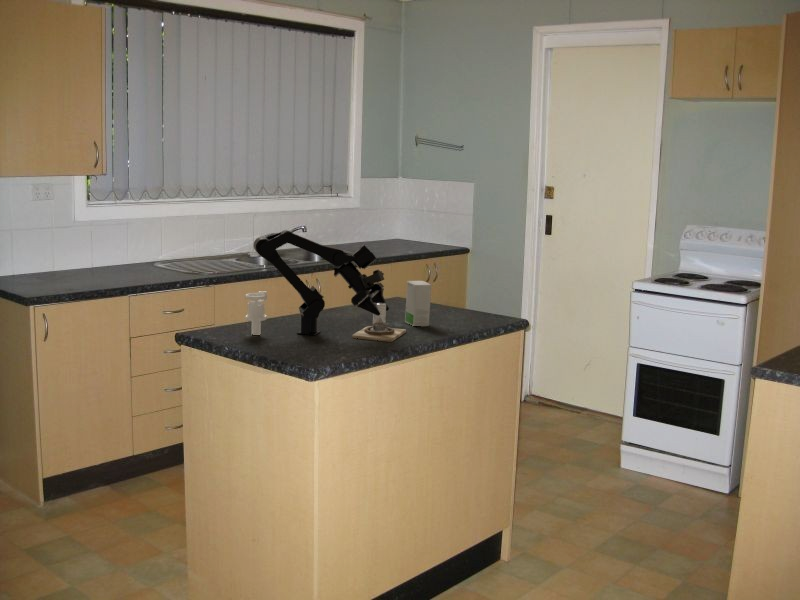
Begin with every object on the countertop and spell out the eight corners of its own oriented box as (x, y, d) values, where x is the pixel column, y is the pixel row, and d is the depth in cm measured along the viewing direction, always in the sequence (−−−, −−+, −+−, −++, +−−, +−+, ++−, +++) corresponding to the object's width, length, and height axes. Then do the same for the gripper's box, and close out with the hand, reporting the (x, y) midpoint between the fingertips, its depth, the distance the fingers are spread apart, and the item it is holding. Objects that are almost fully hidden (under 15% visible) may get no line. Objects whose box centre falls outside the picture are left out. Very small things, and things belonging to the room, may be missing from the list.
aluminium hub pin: (384, 334, 304) (385, 305, 303) (367, 333, 306) (368, 304, 304) (389, 331, 310) (390, 302, 308) (373, 329, 312) (374, 301, 310)
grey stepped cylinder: (266, 337, 300) (266, 293, 297) (245, 337, 299) (245, 293, 296) (266, 332, 307) (266, 289, 304) (245, 332, 306) (245, 289, 303)
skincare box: (404, 322, 330) (405, 280, 327) (420, 321, 332) (422, 280, 330) (413, 327, 322) (415, 284, 319) (430, 326, 325) (432, 283, 322)
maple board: (391, 341, 299) (391, 336, 298) (352, 337, 303) (352, 332, 303) (405, 332, 314) (405, 326, 313) (367, 328, 318) (368, 323, 318)
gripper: (360, 266, 296) (391, 302, 295) (379, 259, 314) (408, 293, 313) (338, 288, 300) (368, 323, 299) (357, 279, 317) (386, 313, 316)
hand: (383, 312), depth 306 cm, fingers open, 9 cm apart
